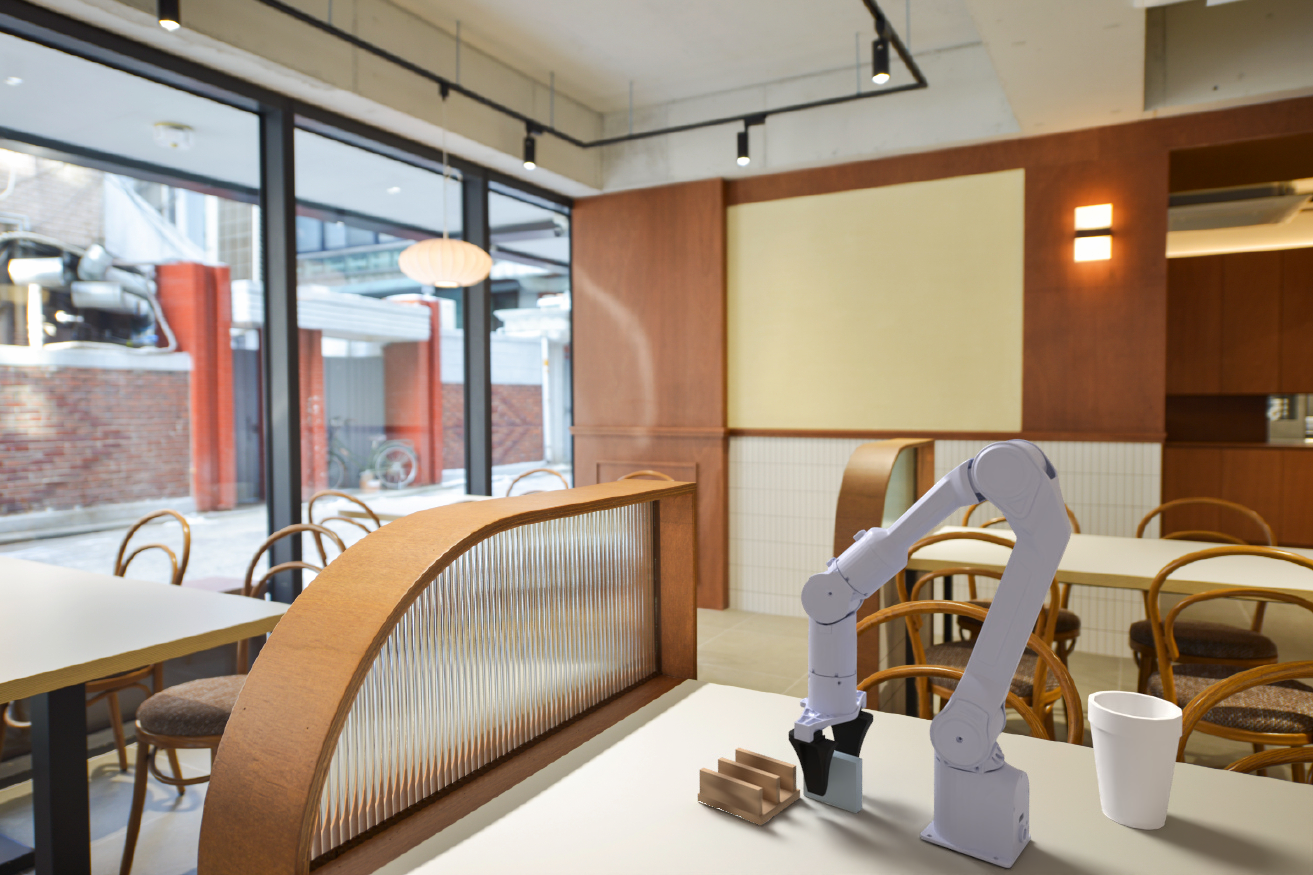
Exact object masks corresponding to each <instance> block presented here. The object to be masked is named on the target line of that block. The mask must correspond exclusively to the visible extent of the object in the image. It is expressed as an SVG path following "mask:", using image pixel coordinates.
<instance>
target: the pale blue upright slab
mask: <svg viewBox="0 0 1313 875" xmlns="http://www.w3.org/2000/svg"><path fill="white" fill-rule="evenodd" d="M802 779H803V785H802V786H803V788H802V789H803V791H802V792H803V795H804V797H806V796H807V797H806V798H810V799H813V800H814V801H815V800H816V801H818V802H822V803H825V804H828V805H830V806H834V807H836V808H839V809H843V810H845V811H847V812H851V813H854V814H857V813H858V812H860V811H861V810H862V809H863V758H861V757H859V758H858V757H855V756H852V755H848V754H845V753H841V752H838V751H834V753H833V756H832V760H831V764H830V769H829V778H828V787H827V791H826V794H825V795H824V796H819V795H816V794H813V793H810V792H808V791H807V787H806V783H805V779H804V775H803V778H802Z"/></svg>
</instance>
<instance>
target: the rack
mask: <svg viewBox="0 0 1313 875" xmlns="http://www.w3.org/2000/svg"><path fill="white" fill-rule="evenodd" d="M734 750H735V752H734V753H735V758H734V759H735V760H732V759H729V758H725V757H720V758H718V759H717V771H715V770H712V769H709V768H706V767H702V768H701V769H699V792H698V793H697V802H698V801H701V802H703V803H706V804H707V805H710V806H713V807H715V808H720V809H722V810H724V811H727V812H729V813H732V814H734V815H738V816H741V817H742V818H744V819H746V820H745V821H747V820H749V821H750V822H749V821H748V822H749V823H752V822H754V823H753V824H755V823H756V824H755V825H757V824H759V825H758V826H760V825H762V824H763V825H765V822H766V823H767V822H768V821H770V820H771V819H773V818H774V817H775V816H777V815H778V814H780V813H781V812H782V811H784V810H785V809H786V808H788V807H789V806H790V805H792V804H793V803H795V802H796V801H797V800H799V799H800V798H801V789H800V788H797V765H796V764H792V763H789V762H786V761H783V760H779V759H776V758H774V757H771V756H768V755H765V754H760V753H759V752H758V753H757V752H754V751H751V750H748V749H744V748H742V747H737V748H736V749H734ZM794 801H795V802H794ZM707 805H706V806H707ZM710 806H709V807H710ZM713 807H712V808H713ZM715 808H714V809H715ZM784 808H785V809H784ZM783 809H784V810H783ZM780 811H781V812H780ZM734 815H733V816H734ZM773 816H774V817H773ZM772 817H773V818H772ZM742 818H741V819H742ZM744 819H743V820H744ZM763 825H762V826H763Z"/></svg>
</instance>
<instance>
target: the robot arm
mask: <svg viewBox="0 0 1313 875" xmlns="http://www.w3.org/2000/svg"><path fill="white" fill-rule="evenodd" d="M1059 480H1060V479H1059V472H1058V470H1057V468H1055V465H1054V464H1053V463H1052V462H1051V460H1050V458H1048V456H1047V455H1046V453H1044V451H1043V450H1042V449H1041V448H1040V447H1039V446H1038V445H1037V444H1035V443H1034V442H1031V441H1029V440H1025V439H1020V438H1017V439H1016V438H1014V439H1009V440H1006V441H1003V440H1002V441H995V442H993V443H989V444H988V445H986V446H984V447H982V449H981V450H979V451H978V453H977V454H976V455H975V457H971V458H968V459H966V460H964V461H963V462H961V463H960V464H958V465H957V466H955V467H954V468H953V469H951V470H950V471H949V472H948V473H946V474H945V475H944V476H943V477H941V478H940V479H939V480H938V481H937V482H936V483H935V484H934V485H933V486H932V487H931V488H930V489H928V490H927V491H926V492H925V493H924V494H923V495H922V497H920V498H919V499H918V500H916V501H915V503H913V504H912V505H911V507H909V508H908V509H907V511H905V512H904V513H903V514H902V515H901V516H900V517H899V518H898V519H897V520H895V521H894V522H893V523H892V525H890V527H886V528H885V527H877V526H876V527H875V526H874V527H871V528H870V529H868V530H865V529H861V530H859V531H858V532H857V533H856V534H855V535H853V537H852V538H853V539H854V540H855V542H853V544H851V545H850V546H849V547H848V548H847V549H845V550H844V551H843V552H842V554H840V555H839V556H838V557H835V556H833V557H831V558H829V559H828V561H826V563H825V565H826V566H827V570H825V571H822V572H818V573H817V572H816V573H813V574H812V575H810V576H809V578H808V580H807V581H806V582H805V584H804V585H803V587H802V590H801V592H800V593H801V594H800V595H801V596H800V598H801V599H800V600H801V601H800V602H801V604H802V607H803V609H804V611H805V613H806V614H807V615H808V631H807V637H808V639H807V640H808V641H807V642H808V643H807V644H808V647H807V648H808V650H807V651H808V652H807V655H808V656H807V657H808V658H807V659H808V660H807V662H808V663H807V664H808V665H807V666H808V668H807V669H808V671H807V676H808V678H807V684H808V685H807V692H808V693H807V697H804V698H802V699H800V701H799V706H800V707H801V708H804V709H803V710H802V713H801V715H800V717H798V719H797V720H795V721H794V722H793V723H794V724H793V725H794V726H793V727H794V728H792V729H791V730H789V731H788V741H789V743H790V745H791V746H792V748H793V749H794V751H795V753H796V756H797V759H798V761H799V764H800V768H801V770H802V774H803V775H804V779H805V783H806V787H807V791H808V792H810V793H813V794H816V795H819V796H824V795H825V794H826V791H827V787H828V778H829V769H830V764H831V760H832V756H833V753H834V751H838V752H841V753H845V754H848V755H852V756H855V757H858V758H860V754H861V750H862V746H863V744H864V740H865V738H866V735H867V733H868V732H869V730H870V727H871V726H872V725H873V722H874V714H873V713H871V712H869V711H865V710H864V709H865V708H867V691H863V690H858V687H857V685H858V684H857V683H858V682H857V680H858V678H857V677H858V676H857V673H858V672H857V669H858V668H857V667H858V666H857V663H858V662H857V661H858V658H857V657H858V648H857V647H858V632H857V611H858V610H859V609H860V608H861V607H862V605H863V603H864V601H865V599H869V598H870V597H871V596H872V595H873V594H874V593H875V592H877V590H879V589H880V588H881V587H883V586H884V585H885V584H887V582H889V581H890V580H891V579H892V578H893V577H895V576H896V575H897V574H898V573H899V572H901V571H902V570H903V569H904V568H906V566H908V560H909V558H908V557H909V549H910V547H912V546H914V544H916V543H917V542H919V541H920V540H921V539H922V538H923V537H924V536H925V535H927V534H929V533H930V532H931V531H933V529H935V528H936V527H937V526H939V525H940V524H941V523H942V522H943V521H945V520H946V519H947V518H949V517H950V516H951V515H953V514H954V513H955V512H957V510H958V509H960V508H962V507H967V506H974V505H979V504H981V503H984V502H985V501H988V502H990V503H991V504H992V505H993V506H994V507H995V508H997V510H999V511H1000V512H1001V513H1002V515H1003V516H1004V518H1005V520H1006V522H1007V523H1008V526H1009V527H1010V528H1011V530H1012V532H1013V533H1014V535H1015V538H1016V541H1015V543H1014V545H1013V549H1012V550H1011V553H1010V556H1009V558H1008V561H1007V563H1006V566H1005V569H1004V571H1003V573H1002V575H1001V579H1000V581H999V584H998V586H997V587H996V588H997V589H996V592H995V594H994V596H993V599H992V602H991V604H990V606H989V609H988V612H987V613H986V616H985V619H984V621H983V623H982V626H981V629H980V632H979V634H978V637H977V639H976V642H975V644H974V647H973V649H972V652H971V654H970V657H969V660H968V662H967V665H966V667H965V670H964V672H963V674H962V676H961V677H960V680H959V682H958V684H957V686H956V688H955V689H954V692H953V693H951V696H950V698H949V699H948V702H947V703H946V704H945V706H944V707H943V708H942V710H940V711H939V712H938V713H937V714H936V715H935V716H934V717H933V719H932V720H931V723H930V726H929V739H930V742H931V745H932V747H933V750H934V751H933V753H934V754H933V820H932V821H931V822H930V823H929V824H928V825H927V826H926V827H925V828H924V829H923V830H922V831H921V832H920V835H919V837H920V839H922V840H924V841H927V842H929V843H932V844H934V845H939V846H941V847H945V848H946V849H947V848H948V849H951V850H953V851H956V852H958V853H962V854H963V855H967V856H971V857H974V858H976V859H979V860H982V861H984V862H987V863H991V864H994V865H997V866H1000V867H1003V868H1006V869H1010V868H1011V867H1012V866H1013V865H1014V864H1015V862H1016V860H1018V858H1019V856H1020V855H1021V853H1022V852H1023V850H1024V849H1025V848H1026V846H1027V845H1028V844H1029V842H1030V841H1031V840H1032V836H1031V834H1030V781H1029V775H1028V773H1027V771H1024V770H1021V769H1019V768H1017V767H1014V766H1012V765H1011V764H1009V762H1007V761H1006V760H1005V754H1004V753H1003V750H1002V748H1001V746H1000V744H999V742H997V740H998V737H999V736H1000V735H1001V734H1002V732H1003V731H1004V730H1005V727H1006V725H1007V713H1006V700H1007V697H1008V694H1009V692H1010V689H1011V683H1012V682H1013V679H1014V676H1015V675H1016V674H1015V673H1016V671H1017V669H1018V666H1019V664H1020V662H1021V659H1022V656H1023V654H1024V651H1025V650H1026V647H1027V644H1028V642H1029V639H1030V637H1031V635H1032V632H1033V631H1034V627H1035V625H1036V622H1037V620H1038V617H1039V615H1040V612H1041V611H1042V608H1043V605H1044V603H1045V600H1046V598H1047V595H1048V593H1049V591H1050V588H1051V586H1052V583H1053V581H1054V578H1055V576H1056V573H1057V571H1058V569H1059V566H1060V565H1061V561H1062V558H1063V557H1064V554H1065V551H1066V549H1067V546H1068V544H1069V542H1070V539H1071V536H1072V535H1071V534H1072V526H1071V523H1070V520H1069V519H1070V518H1069V516H1068V511H1067V508H1066V504H1065V500H1064V497H1063V493H1062V490H1061V487H1060V481H1059ZM828 727H831V732H832V735H833V739H830V738H826V735H825V734H823V732H824V731H823V730H825V729H826V728H828Z"/></svg>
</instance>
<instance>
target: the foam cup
mask: <svg viewBox="0 0 1313 875" xmlns="http://www.w3.org/2000/svg"><path fill="white" fill-rule="evenodd" d="M1087 721H1088V722H1089V724H1090V731H1091V738H1092V747H1093V748H1092V749H1093V753H1094V762H1095V769H1096V770H1095V771H1096V777H1097V784H1098V791H1099V798H1100V799H1099V800H1100V806H1101V812H1102V814H1104V815H1105V816H1106V817H1107V819H1110V820H1112V821H1114V822H1115V823H1117V824H1120V825H1122V826H1124V827H1125V826H1126V827H1129V828H1132V829H1133V828H1134V829H1140V830H1145V831H1146V830H1147V831H1148V830H1158V829H1161V828H1162V827H1164V826H1165V824H1166V823H1165V821H1166V819H1167V814H1168V809H1169V808H1168V807H1169V802H1170V797H1171V791H1172V790H1171V789H1172V784H1173V779H1174V773H1175V766H1176V761H1177V756H1178V749H1179V742H1180V738H1181V737H1183V711H1182V708H1180V707H1179V706H1177V705H1176V704H1175V703H1173V702H1171V701H1168V700H1165V699H1162V698H1159V697H1156V696H1153V695H1148V694H1143V693H1139V692H1133V691H1122V690H1121V691H1120V690H1104V691H1103V690H1101V691H1096V692H1093V693H1090V694H1089V695H1088V699H1087Z"/></svg>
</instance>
